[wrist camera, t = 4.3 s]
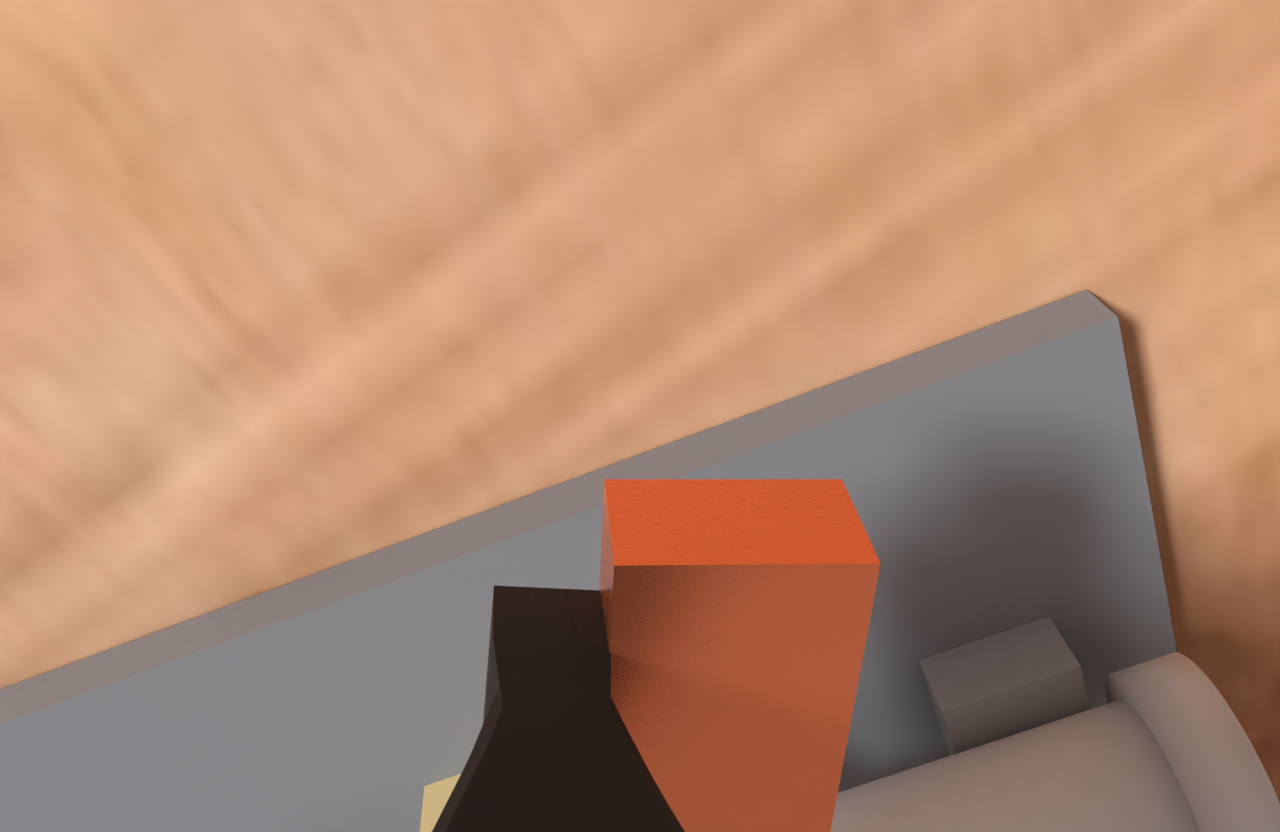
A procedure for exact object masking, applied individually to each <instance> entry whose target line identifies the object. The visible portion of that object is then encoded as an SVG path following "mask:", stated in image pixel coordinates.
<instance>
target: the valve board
mask: <svg viewBox="0 0 1280 832" xmlns="http://www.w3.org/2000/svg"><path fill="white" fill-rule="evenodd" d="M604 479H842V481H843V483H844V485H845V487H846V489H847V491H848V494H849V496H850V498H851V500H852V502H853V504H854V507H855V509H856V511H857V513H858V515H859V518H860V520H861V522H862V524H863V526H864V528H865V531H866V533H867V535H868V537H869V539H870V542H871V544H872V546H873V548H874V550H875V552H876V555H877V557H878V559H879V561H880V563H881V564H880V569H879V575H878V580H877V585H876V591H875V596H874V601H873V607H872V612H871V617H870V623H869V628H868V634H867V639H866V644H865V650H864V655H863V660H862V666H861V671H860V676H859V682H858V687H857V692H856V698H855V703H854V708H853V714H852V719H851V725H850V730H849V735H848V741H847V746H846V751H845V757H844V762H843V767H842V773H841V778H840V783H839V789H838V794H837V799H836V805H835V810H834V815H833V821H832V826H831V832H1280V802H1279V800H1278V797H1277V795H1276V793H1275V790H1274V788H1273V786H1272V784H1271V781H1270V779H1269V777H1268V775H1267V773H1266V771H1265V769H1264V767H1263V765H1262V763H1261V761H1260V759H1259V757H1258V755H1257V753H1256V751H1255V749H1254V747H1253V745H1252V743H1251V742H1250V740H1249V738H1248V736H1247V735H1246V733H1245V731H1244V729H1243V728H1242V726H1241V724H1240V723H1239V721H1238V719H1237V718H1236V716H1235V715H1234V713H1233V711H1232V710H1231V708H1230V707H1229V705H1228V704H1227V702H1226V701H1225V699H1224V698H1223V697H1222V695H1221V694H1220V692H1219V691H1218V690H1217V688H1216V687H1215V686H1214V684H1213V683H1212V682H1211V681H1210V679H1209V678H1208V677H1207V676H1206V675H1205V673H1204V672H1203V671H1202V670H1201V669H1200V668H1199V667H1198V666H1197V665H1196V664H1195V663H1194V662H1193V661H1191V660H1190V659H1189V658H1187V657H1186V656H1185V655H1183V654H1180V653H1177V648H1176V643H1175V637H1174V631H1173V626H1172V620H1171V614H1170V609H1169V603H1168V597H1167V592H1166V586H1165V580H1164V575H1163V569H1162V563H1161V558H1160V552H1159V546H1158V541H1157V535H1156V529H1155V524H1154V518H1153V512H1152V506H1151V501H1150V495H1149V489H1148V484H1147V478H1146V472H1145V467H1144V461H1143V455H1142V450H1141V444H1140V438H1139V433H1138V427H1137V421H1136V416H1135V410H1134V404H1133V399H1132V393H1131V387H1130V382H1129V376H1128V370H1127V365H1126V359H1125V353H1124V348H1123V342H1122V336H1121V331H1120V325H1119V319H1118V316H1116V315H1115V314H1114V313H1113V312H1112V311H1111V310H1110V309H1109V308H1107V307H1106V306H1105V305H1104V304H1103V303H1102V302H1101V301H1099V300H1098V299H1097V298H1096V297H1095V296H1094V295H1093V294H1092V293H1090V292H1089V291H1088V290H1085V291H1082V292H1080V293H1077V294H1074V295H1071V296H1069V297H1066V298H1063V299H1061V300H1058V301H1055V302H1052V303H1050V304H1047V305H1044V306H1042V307H1039V308H1036V309H1033V310H1031V311H1028V312H1025V313H1023V314H1020V315H1017V316H1014V317H1012V318H1009V319H1006V320H1003V321H1001V322H998V323H995V324H993V325H990V326H987V327H984V328H982V329H979V330H976V331H974V332H971V333H968V334H965V335H963V336H960V337H957V338H955V339H952V340H949V341H946V342H944V343H941V344H938V345H935V346H933V347H930V348H927V349H925V350H922V351H919V352H916V353H914V354H911V355H908V356H906V357H903V358H900V359H897V360H895V361H892V362H889V363H887V364H884V365H881V366H878V367H876V368H873V369H870V370H868V371H865V372H862V373H859V374H857V375H854V376H851V377H848V378H846V379H843V380H840V381H838V382H835V383H832V384H829V385H827V386H824V387H821V388H819V389H816V390H813V391H810V392H808V393H805V394H802V395H800V396H797V397H794V398H791V399H789V400H786V401H783V402H780V403H778V404H775V405H772V406H770V407H767V408H764V409H761V410H759V411H756V412H753V413H751V414H748V415H745V416H742V417H740V418H737V419H734V420H732V421H729V422H726V423H723V424H721V425H718V426H715V427H713V428H710V429H707V430H704V431H702V432H699V433H696V434H693V435H691V436H688V437H685V438H683V439H680V440H677V441H674V442H672V443H669V444H666V445H664V446H661V447H658V448H655V449H653V450H650V451H647V452H645V453H642V454H639V455H636V456H634V457H631V458H628V459H625V460H623V461H620V462H617V463H615V464H612V465H609V466H606V467H604V468H601V469H598V470H596V471H593V472H590V473H587V474H585V475H582V476H579V477H577V478H574V479H571V480H568V481H566V482H563V483H560V484H557V485H555V486H552V487H549V488H547V489H544V490H541V491H538V492H536V493H533V494H530V495H528V496H525V497H522V498H519V499H517V500H514V501H511V502H509V503H506V504H503V505H500V506H498V507H495V508H492V509H490V510H487V511H484V512H481V513H479V514H476V515H473V516H470V517H468V518H465V519H462V520H460V521H457V522H454V523H451V524H449V525H446V526H443V527H441V528H438V529H435V530H432V531H430V532H427V533H424V534H422V535H419V536H416V537H413V538H411V539H408V540H405V541H402V542H400V543H397V544H394V545H392V546H389V547H386V548H383V549H381V550H378V551H375V552H373V553H370V554H367V555H364V556H362V557H359V558H356V559H354V560H351V561H348V562H345V563H343V564H340V565H337V566H335V567H332V568H329V569H326V570H324V571H321V572H318V573H315V574H313V575H310V576H307V577H305V578H302V579H299V580H296V581H294V582H291V583H288V584H286V585H283V586H280V587H277V588H275V589H272V590H269V591H267V592H264V593H261V594H258V595H256V596H253V597H250V598H247V599H245V600H242V601H239V602H237V603H234V604H231V605H228V606H226V607H223V608H220V609H218V610H215V611H212V612H209V613H207V614H204V615H201V616H199V617H196V618H193V619H190V620H188V621H185V622H182V623H180V624H177V625H174V626H171V627H169V628H166V629H163V630H160V631H158V632H155V633H152V634H150V635H147V636H144V637H141V638H139V639H136V640H133V641H131V642H128V643H125V644H122V645H120V646H117V647H114V648H112V649H109V650H106V651H103V652H101V653H98V654H95V655H92V656H90V657H87V658H84V659H82V660H79V661H76V662H73V663H71V664H68V665H65V666H63V667H60V668H57V669H54V670H52V671H49V672H46V673H44V674H41V675H38V676H35V677H33V678H30V679H27V680H25V681H22V682H19V683H16V684H14V685H11V686H8V687H5V688H3V689H0V832H432V830H433V828H434V826H435V825H436V823H437V821H438V819H439V817H440V815H441V813H442V811H443V809H444V807H445V805H446V803H447V801H448V799H449V797H450V795H451V793H452V791H453V789H454V787H455V785H456V783H457V781H458V779H459V777H460V775H461V773H462V771H463V769H464V767H465V765H466V763H467V761H468V759H469V756H470V754H471V752H472V750H473V747H474V745H475V743H476V740H477V738H478V735H479V733H480V731H481V728H482V726H483V717H484V705H485V692H486V679H487V667H488V654H489V641H490V628H491V616H492V603H493V590H494V585H495V586H517V587H538V588H559V589H580V590H600V569H601V546H602V523H603V501H604Z"/></svg>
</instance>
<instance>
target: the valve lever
mask: <svg viewBox="0 0 1280 832" xmlns="http://www.w3.org/2000/svg"><path fill="white" fill-rule="evenodd" d="M880 564H881V563H880V561H879V559H878V557H877V555H876V552H875V550H874V548H873V546H872V544H871V542H870V539H869V537H868V535H867V533H866V531H865V528H864V526H863V524H862V522H861V520H860V518H859V515H858V513H857V511H856V509H855V507H854V504H853V502H852V500H851V498H850V496H849V494H848V491H847V489H846V487H845V485H844V483H843V481H842V479H604V501H603V523H602V546H601V569H600V595H601V600H602V606H603V611H604V617H605V624H606V631H607V638H608V645H609V652H610V653H611V698H612V700H613V702H614V704H615V706H616V708H617V710H618V712H619V714H620V716H621V718H622V720H623V722H624V724H625V726H626V728H627V730H628V732H629V734H630V736H631V737H632V739H633V741H634V743H635V745H636V747H637V749H638V751H639V753H640V754H641V756H642V758H643V760H644V762H645V764H646V766H647V768H648V770H649V772H650V773H651V775H652V777H653V779H654V780H655V782H656V784H657V786H658V787H659V789H660V791H661V793H662V794H663V796H664V798H665V800H666V801H667V803H668V805H669V807H670V808H671V810H672V811H673V813H674V815H675V816H676V818H677V820H678V821H679V823H680V824H681V826H682V828H683V829H684V831H685V832H831V826H832V821H833V815H834V810H835V805H836V799H837V794H838V789H839V783H840V778H841V773H842V767H843V762H844V757H845V751H846V746H847V741H848V735H849V730H850V725H851V719H852V714H853V708H854V703H855V698H856V692H857V687H858V682H859V676H860V671H861V666H862V660H863V655H864V650H865V644H866V639H867V634H868V628H869V623H870V617H871V612H872V607H873V601H874V596H875V591H876V585H877V580H878V575H879V569H880Z"/></svg>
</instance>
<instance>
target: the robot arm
mask: <svg viewBox="0 0 1280 832" xmlns="http://www.w3.org/2000/svg"><path fill="white" fill-rule="evenodd" d="M432 832H685V831H684V829H683V828H682V826H681V824H680V823H679V821H678V820H677V818H676V816H675V815H674V813H673V811H672V810H671V808H670V807H669V805H668V803H667V801H666V800H665V798H664V796H663V794H662V793H661V791H660V789H659V787H658V786H657V784H656V782H655V780H654V779H653V777H652V775H651V773H650V772H649V770H648V768H647V766H646V764H645V762H644V760H643V758H642V756H641V754H640V753H639V751H638V749H637V747H636V745H635V743H634V741H633V739H632V737H631V736H630V734H629V732H628V730H627V728H626V726H625V724H624V722H623V720H622V718H621V716H620V714H619V712H618V710H617V708H616V706H615V704H614V702H613V700H612V698H611V653H610V652H609V645H608V638H607V631H606V624H605V617H604V611H603V606H602V600H601V595H600V590H580V589H559V588H538V587H517V586H495V585H494V590H493V603H492V616H491V628H490V641H489V654H488V667H487V679H486V692H485V705H484V717H483V726H482V728H481V731H480V733H479V735H478V738H477V740H476V743H475V745H474V747H473V750H472V752H471V754H470V756H469V759H468V761H467V763H466V765H465V767H464V769H463V771H462V773H461V775H460V777H459V779H458V781H457V783H456V785H455V787H454V789H453V791H452V793H451V795H450V797H449V799H448V801H447V803H446V805H445V807H444V809H443V811H442V813H441V815H440V817H439V819H438V821H437V823H436V825H435V826H434V828H433V830H432Z"/></svg>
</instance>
